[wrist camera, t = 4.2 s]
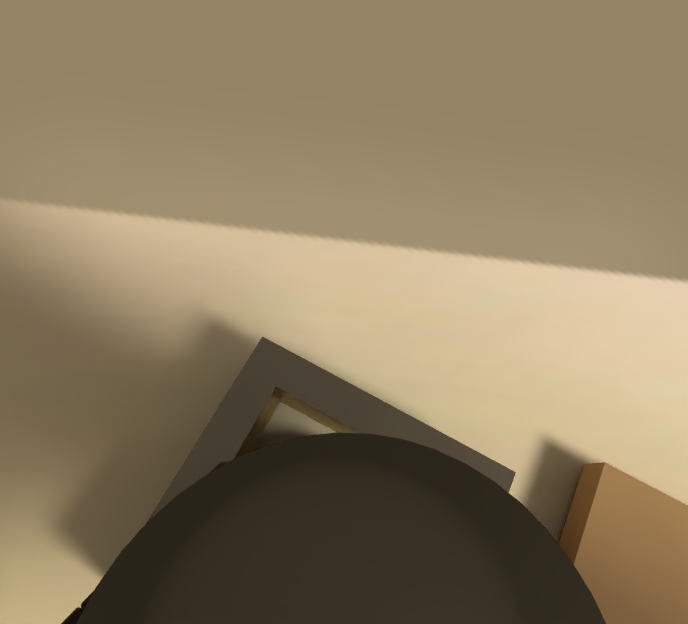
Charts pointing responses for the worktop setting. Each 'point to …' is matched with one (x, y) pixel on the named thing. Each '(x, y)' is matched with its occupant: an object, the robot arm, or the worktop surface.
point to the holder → (314, 401)
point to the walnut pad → (629, 547)
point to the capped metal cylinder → (343, 545)
